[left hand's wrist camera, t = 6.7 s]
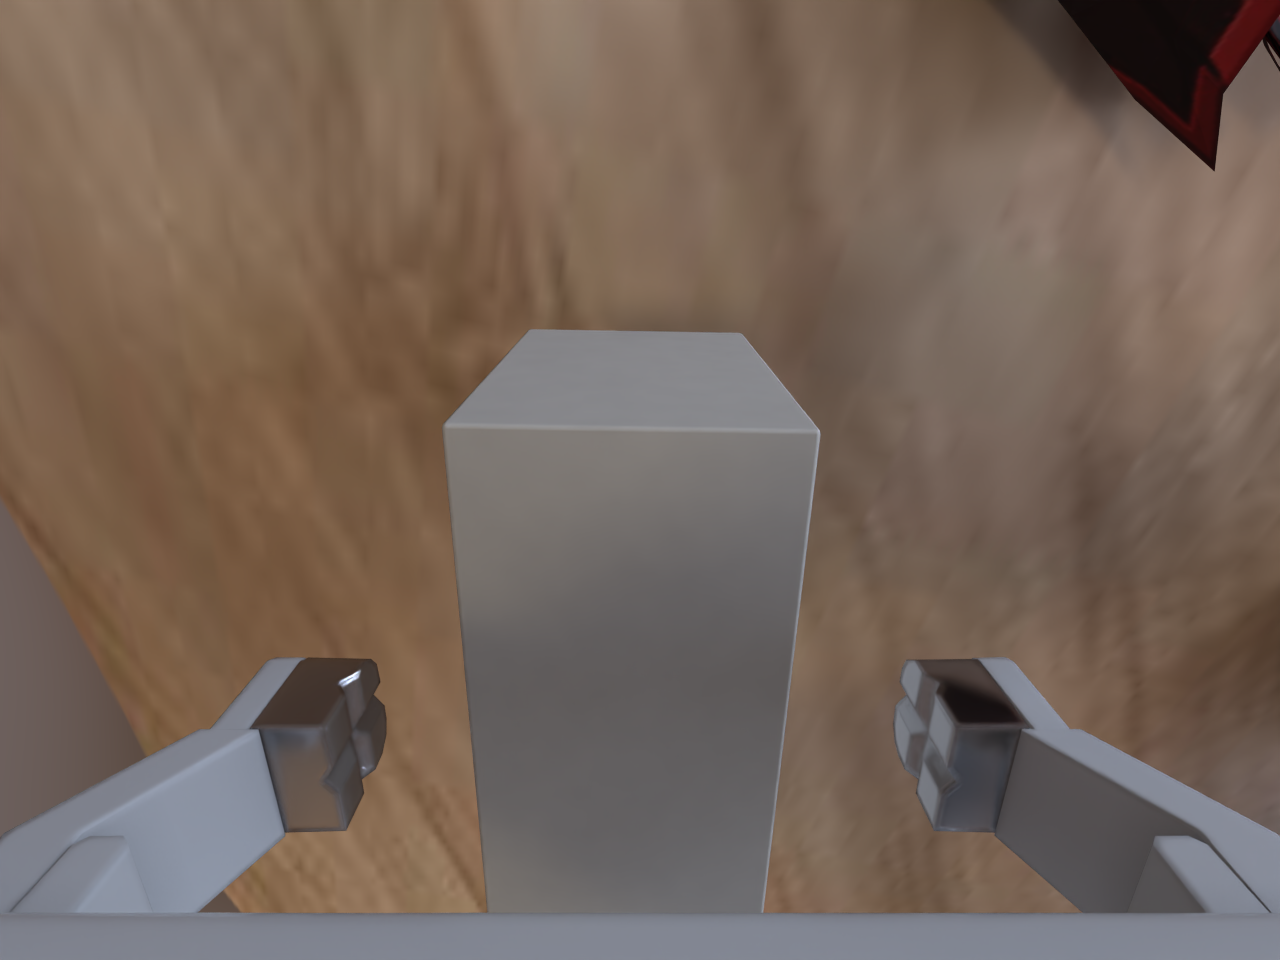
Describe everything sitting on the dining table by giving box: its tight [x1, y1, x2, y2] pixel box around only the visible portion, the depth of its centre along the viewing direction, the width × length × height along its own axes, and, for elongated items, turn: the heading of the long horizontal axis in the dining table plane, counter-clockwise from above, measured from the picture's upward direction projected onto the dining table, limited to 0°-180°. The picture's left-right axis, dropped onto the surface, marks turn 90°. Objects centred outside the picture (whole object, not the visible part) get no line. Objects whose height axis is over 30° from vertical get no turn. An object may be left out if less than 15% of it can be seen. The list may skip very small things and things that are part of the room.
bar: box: [442, 329, 820, 913], centre depth 18 cm, size 24×5×8 cm, turn 179°
